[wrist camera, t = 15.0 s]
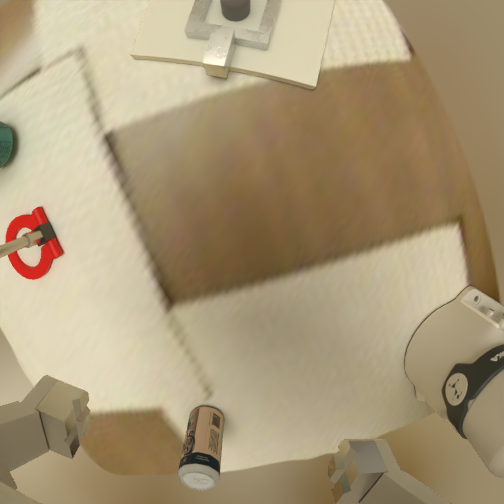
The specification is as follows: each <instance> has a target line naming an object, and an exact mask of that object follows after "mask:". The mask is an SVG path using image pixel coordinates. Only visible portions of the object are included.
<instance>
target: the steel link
mask: <svg viewBox="0 0 504 504" xmlns="http://www.w3.org/2000/svg"><path fill="white" fill-rule="evenodd" d="M211 1H212V0H195V2H194V4H193V7H192V10H191V13H190V15H189V18H188V21H187V24H186V27H185V30H184V31H185V33H186V36H187V38H193V39H201V40H209V42H208V45H207V48H206V52H205V55H204V59H203V62H202V64H203V66H204V68H205V71H206V73H207V75H211V76H217V77H223V78H227V75H228V71H229V67H230V64H231V60H232V57H233V53H234V50H235V46H236V45H240V46H245V47H251V48H256V49H261V50H265V51H267V47H268V43H269V39H270V36H271V32H272V28H273V25H274V21H275V17H276V14H277V10H278V6H279V3H280V0H267V3H266V6H265V10H264V13H263V17H262V20H261V23H260V27H259V30H258V31H253V30H247V29H242V28H236V27H230V26H223V25H216V24H209V23H204V21H205V18H206V15H207V12H208V9H209V6H210V3H211Z"/></svg>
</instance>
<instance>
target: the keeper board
mask: <svg viewBox="0 0 504 504" xmlns="http://www.w3.org/2000/svg"><path fill="white" fill-rule="evenodd" d="M194 2H195V0H150V2H149V4H148V7H147V9H146V12H145V14H144V17H143V20H142V22H141V25H140V28H139V31H138V33H137V36H136V39H135V42H134V45H133V48H132V51H131V54H130V55H131V56H132V57H133V58H134V59H144V60H156V61H166V62H175V63H183V64H191V65H198V66H203V64H202V62H203V59H204V55H205V52H206V48H207V45H208V42H209V40H201V39H193V38H187V36H186V33H185V31H184V30H185V27H186V24H187V21H188V18H189V15H190V13H191V10H192V7H193V4H194ZM266 3H267V0H212V1H211V3H210V6H209V9H208V12H207V15H206V18H205V21H204V23H209V24H216V25H223V26H230V27H236V28H242V29H247V30H253V31H258V30H259V27H260V23H261V20H262V17H263V13H264V10H265V6H266ZM333 5H334V0H280V3H279V6H278V10H277V14H276V17H275V21H274V25H273V28H272V32H271V36H270V39H269V43H268V47H267V51H265V50H261V49H256V48H251V47H245V46H240V45H236V46H235V50H234V53H233V57H232V60H231V64H230V67H229V71H234V72H240V73H245V74H250V75H254V76H259V77H263V78H268V79H272V80H276V81H280V82H285V83H288V84H292V85H296V86H300V87H304V88H307V89H311V90H313V89H314V88H315V87H316V83H317V79H318V75H319V70H320V66H321V61H322V56H323V52H324V47H325V43H326V38H327V33H328V29H329V24H330V19H331V15H332V10H333Z"/></svg>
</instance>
